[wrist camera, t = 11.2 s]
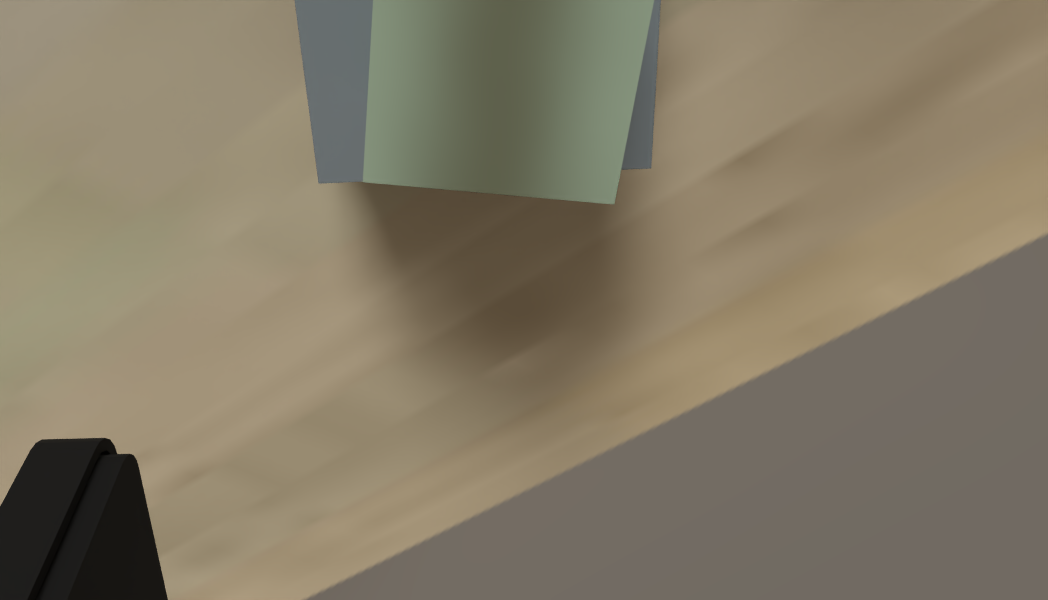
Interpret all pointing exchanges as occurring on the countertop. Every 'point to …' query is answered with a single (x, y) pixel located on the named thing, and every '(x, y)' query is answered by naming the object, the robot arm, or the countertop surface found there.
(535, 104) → the sage block
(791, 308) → the countertop surface
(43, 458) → the robot arm
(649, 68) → the slab top
